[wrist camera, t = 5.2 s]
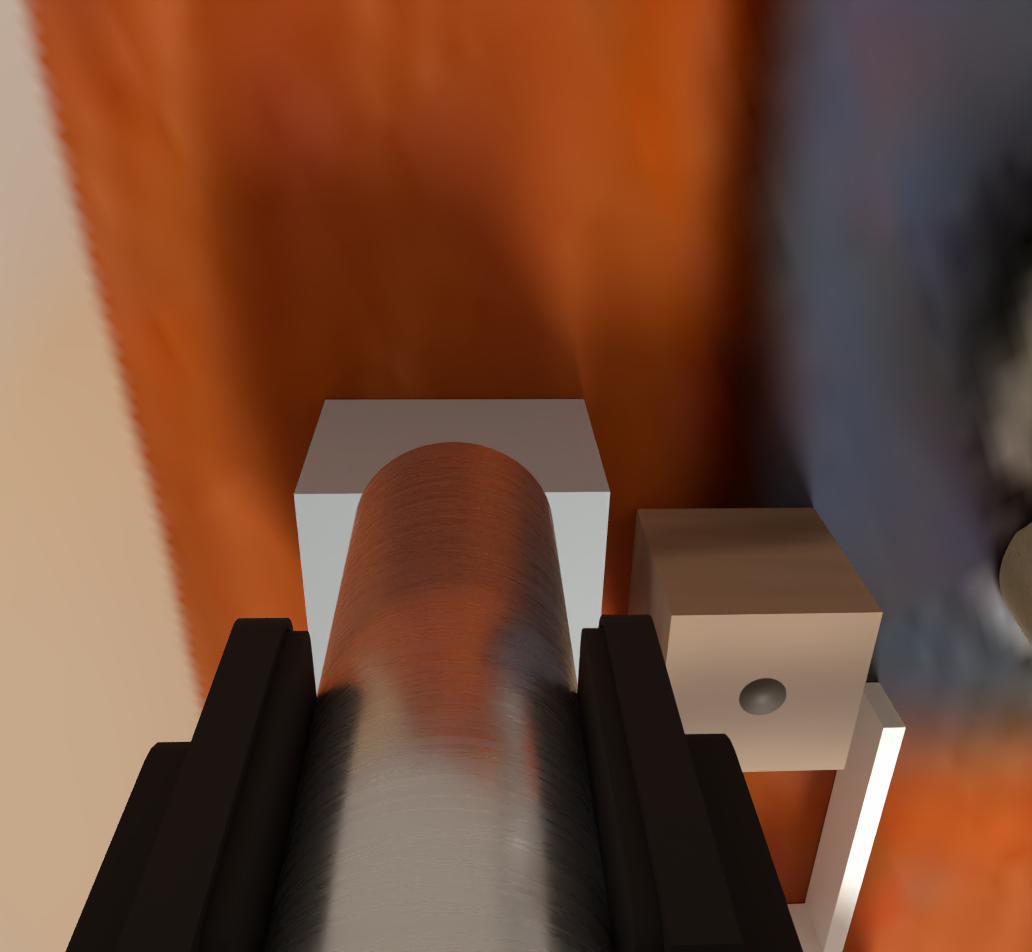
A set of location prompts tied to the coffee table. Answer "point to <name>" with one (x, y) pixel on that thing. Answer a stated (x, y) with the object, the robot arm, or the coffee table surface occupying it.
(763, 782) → the coffee table surface
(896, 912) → the coffee table surface
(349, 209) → the coffee table surface
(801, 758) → the walnut block
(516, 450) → the bore block
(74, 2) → the coffee table surface
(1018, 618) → the flower pot
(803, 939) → the u-shaped frame
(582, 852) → the pin
